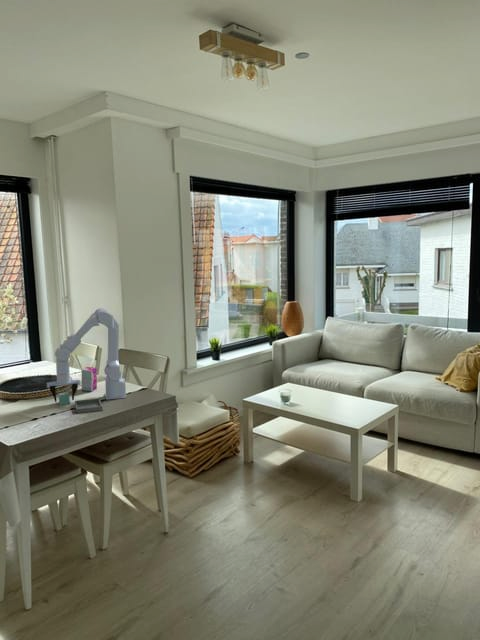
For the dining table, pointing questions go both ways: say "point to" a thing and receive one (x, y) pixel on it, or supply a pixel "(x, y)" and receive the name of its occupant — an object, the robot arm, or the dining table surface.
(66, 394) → the teal block
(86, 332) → the robot arm
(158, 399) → the dining table surface
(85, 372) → the supplement box
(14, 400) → the dining table surface
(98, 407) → the tray
